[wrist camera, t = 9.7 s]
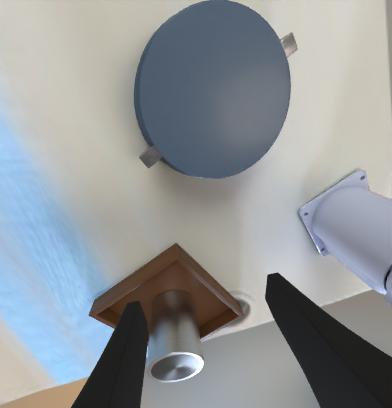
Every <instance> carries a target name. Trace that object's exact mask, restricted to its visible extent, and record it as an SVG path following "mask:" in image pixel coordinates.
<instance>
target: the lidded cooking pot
mask: <svg viewBox="0 0 392 408" xmlns="http://www.w3.org/2000/svg"><path fill="white" fill-rule="evenodd" d="M296 50H297V45H296V42H295V39H294V36H293V33H292V32H291V33H290V34H288V35H286V36H285V37H283V38H282V39H279V38H278V36H277V34H276V33H275V31H274V30H273V29H272V27H271V26H270V25H269V24H268V22H267V21H266V20H265V19H264V18H262V17H261V16H260V15H259V14H258V13H256V12H255V11H253V10H252V9H250V8H249V7H247V6H244V5H242V4H239V3H237V2H232V1H228V0H209V1H202V2H199V3H196V4H193V5H191V6H189V7H187V8H185V9H183V10H182V11H180V12H178V13H177V14H175V15H174V16H172V17H171V18H170V19H168V20H167V21H166V22H165V23H163V24H162V25H161V26H160V28H159V29H158V30H157V31H156V32H155V33H154V35H153V36H152V37H151V39H150V40H149V42H148V43H147V45H146V47H145V49H144V52H143V54H142V56H141V59H140V62H139V65H138V68H137V73H136V78H135V86H134V106H135V112H136V117H137V121H138V124H139V127H140V130H141V132H142V134H143V136H144V138H145V140H146V141H147V143H148V145H149V146H150V147H148V148H147V149H146V150H145V151H144V152H142V153H141V155H140V157H139V158H140V159H141V161H142V162H143V163H144V164H145V165H146V166H147V167H148V168H150V167H151V166H152V165H154V164H155V163H156V162H157V161H159V160H160V159H161V160H162V161H163V162H165V163H166V164H167V165H168V166H170V167H171V168H173V169H174V170H176V171H178V172H180V173H183V174H185V175H188V176H192V177H197V178H205V179H218V178H225V177H229V176H232V175H235V174H238V173H240V172H242V171H244V170H246V169H247V168H249V167H251V166H252V165H253V164H255V163H256V162H257V161H258V160H260V159H261V158H262V157H263V156H264V155H265V153H266V152H267V151H268V150H269V149H270V147H271V146H272V145H273V143H274V142H275V140H276V138H277V137H278V135H279V133H280V131H281V129H282V126H283V124H284V121H285V119H286V115H287V111H288V107H289V101H290V90H291V82H290V71H289V65H288V60H287V57H289V56H290V55H291V54H292V53H294V52H295V51H296Z"/></svg>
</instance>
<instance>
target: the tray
mask: <svg viewBox="0 0 392 408" xmlns="http://www.w3.org/2000/svg"><path fill="white" fill-rule="evenodd" d="M172 290H181V291H185V292H187V293H189V294H190V295H192V297H193V298H194V301H195V307H196V314H197V320H198V327H199V333H200V340H201V341H202V340H204V339H205V338H207V337H209V336H210V335H212V334H214V333H216V332H217V331H219V330H221V329H222V328H224V327H226V326H228V325H229V324H231V323H233V322H235V321H236V320H238V319H240V318H241V317H243V316H244V313H243V311H242V308H241V306H240V303H239V302H238V301H237V300H236V299H235V298H234V297H233V296H231V295H230V294H229V293H228V292H227V291H226V290H225V289H224V288H223V287H222V286H221V285H220V284H219V283H218V282H217V281H216V280H215V279H214V278H213V277H212V276H211V275H209V274H208V273H207V272H206V271H205V270H204V269H203V268H202V267H201V266H200V265H199V264H198V263H197V262H196V261H195V260H194V259H193V258H192V257H191V256H190V255H189V254H187V253H186V252H185V251H184V250H183V249H182V248H181V247H180V246H179V245H178V244H177V243H176V244H174V245H173V246H171V247H170V248H168V249H167V250H166V251H164V252H163V253H161V254H160V255H158V256H157V257H156V258H154V259H153V260H151V261H150V262H148V263H147V264H146V265H144V266H143V267H141V268H140V269H138V270H137V271H136V272H134V273H133V274H131V275H130V276H128V277H127V278H126V279H124V280H123V281H121V282H120V283H118V284H117V285H115V286H114V287H113V288H111V289H110V290H108V291H107V292H105V293H104V294H103V295H101V296H100V297H98V298H97V299H95V300H94V302H93V305H92V308H91V310H90V313H89V316H91V317H93V318H94V319H96V320H98V321H100V322H102V323H104V324H106V325H108V326H110V327H112V328H114V329H115V328H116V326H117V324H118V321H119V319H120V317H121V315H122V313H123V311H124V308H125V306H126V304H127V303H129V302H134V301H140V304H141V306H142V309H143V312H144V314H145V317H146V320H147V322H148V340H147V346H149V333H150V320H151V307H152V303H153V301H154V299H155V298H156V297H157V296H159V295H160V294H162V293H164V292H167V291H172Z"/></svg>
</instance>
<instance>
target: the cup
mask: <svg viewBox="0 0 392 408" xmlns="http://www.w3.org/2000/svg"><path fill="white" fill-rule="evenodd" d="M203 364H204V359H203V353H202V346H201V340H200V333H199V327H198V320H197V314H196V307H195V301H194V298H193V297H192V295H190V294H189V293H187V292H185V291H181V290H172V291H167V292H164V293H162V294H160V295H159V296H157V297H156V298H155V299H154V301H153V303H152V307H151V320H150V333H149V347H148V360H147V374H148V376H149V377H150V378H151V379H153V380H155V381H159V382H177V381H181V380H185V379H187V378H189V377H192V376H193V375H195V374H196V373H198V372H199V371H200V370H201V369H202V367H203Z"/></svg>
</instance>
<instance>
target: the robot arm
mask: <svg viewBox="0 0 392 408" xmlns="http://www.w3.org/2000/svg"><path fill="white" fill-rule="evenodd" d="M299 214H300V216H301V218H302V220H303V222H304V224H305V226H306V228H307V230H308V232H309V234H310V236H311V238H312V240H313V242H314V244H315V246H316V248H317V250H318V251H319V253H320V255H321V256H326V255H328V254H329V253H330V254H331V255H332V256H334V257H335V258H336V259H337V260H338V261H339V262H341V263H342V264H343V265H344V266H345V267H347V268H348V269H349V270H350V271H351V272H352V273H354V274H355V275H356V276H357V277H358V278H360V279H361V280H362V281H363V282H364V283H366V284H367V285H368V286H369V287H371V288H372V289H374V290H375V291H377V292H380V293H382V294H385V297H384V299H385V300H386V301H387V302H388V303H389V304H391V305H392V199H389V198H387V197H384V196H381V195H379V194H376V193H373V192H371V191H370V189H369V185H368V181H367V176H366V172H365V171H364V170H361V169H360V170H357V171H356V172H354V173H353V174H351V175H350V176H348V177H347V178H345V179H344V180H342V181H341V182H339V183H337V184H336V185H334V186H333V187H331V188H330V189H328V190H327V191H325V192H324V193H322V194H321V195H319V196H318V197H316V198H314V199H313V200H311V201H310V202H308V203H307V204H305V205H304V206H302V207H301V208H300V209H299ZM265 299H266V302H267V304H268V306H269V309H270V311H271V313H272V315H273V318H274V319H275V321H276V323H277V325H278V327H279V328H280V330H281V332H282V334H283V335H284V337H285V339H286V341H287V343H288V344H289V346H290V348H291V350H292V352H293V353H294V355H295V357H296V359H297V360H298V362H299V364H300V366H301V368H302V370H303V372H304V373H305V375H306V378H307V380H308V382H309V384H310V386H311V388H312V390H313V392H314V395H315V397H316V399H317V401H318V403H319V405H320V407H321V408H392V357H391V356H389V355H387V354H385V353H384V352H382V351H381V350H379V349H378V348H376V347H374V346H373V345H372V344H370V343H369V342H367V341H366V340H364V339H362V338H361V337H360V336H358V335H357V334H355V333H354V332H352V331H351V330H349V329H348V328H346V327H345V326H344V325H342V324H341V323H340V322H338V321H337V320H335V319H334V318H333V317H331V316H330V315H329V314H328V313H326V312H325V311H323V310H322V309H321V308H320V307H319V306H317V305H316V304H315V303H314V302H312V301H311V300H310V299H309V298H307V297H306V296H305V295H304V294H302V293H301V292H300V291H299V290H298V289H297V288H295V287H294V286H293V285H292V284H291V283H290V282H288V281H287V280H286V279H285V278H284V277H283V276H281V275H280V274H279V273H274V274H269V275H268V276H267V286H266V295H265ZM147 340H148V322H147V320H146V317H145V314H144V312H143V309H142V306H141V304H140V301H134V302H129V303H127V304H126V306H125V308H124V311H123V313H122V315H121V317H120V319H119V321H118V324H117V326H116V328H115V330H114V332H113V334H112V336H111V338H110V340H109V342H108V344H107V346H106V348H105V349H104V351H103V353H102V355H101V357H100V359H99V361H98V362H97V364H96V366H95V368H94V370H93V371H92V373H91V375H90V377H89V378H88V380H87V382H86V384H85V385H84V387H83V389H82V390H81V392H80V394H79V395H78V397H77V399H76V400H75V402H74V403H73V405H72V407H71V408H140V402H141V395H142V387H143V378H144V370H145V361H146V353H147Z"/></svg>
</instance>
